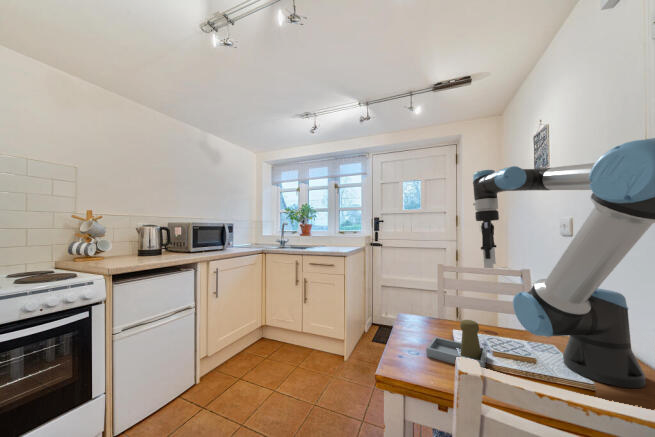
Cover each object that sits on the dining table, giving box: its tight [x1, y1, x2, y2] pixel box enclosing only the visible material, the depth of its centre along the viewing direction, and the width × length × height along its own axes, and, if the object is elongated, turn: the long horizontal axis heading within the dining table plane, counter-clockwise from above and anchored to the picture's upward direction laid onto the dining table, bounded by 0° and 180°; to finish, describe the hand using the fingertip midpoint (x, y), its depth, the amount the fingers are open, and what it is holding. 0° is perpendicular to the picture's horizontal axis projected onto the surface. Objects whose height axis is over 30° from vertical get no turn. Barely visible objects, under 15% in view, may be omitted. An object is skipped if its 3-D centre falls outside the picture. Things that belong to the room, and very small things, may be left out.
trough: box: [425, 336, 488, 368], centre depth 78 cm, size 16×11×3 cm
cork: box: [459, 319, 482, 361], centre depth 77 cm, size 6×6×11 cm
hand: (490, 265), depth 93 cm, fingers open, 13 cm apart
